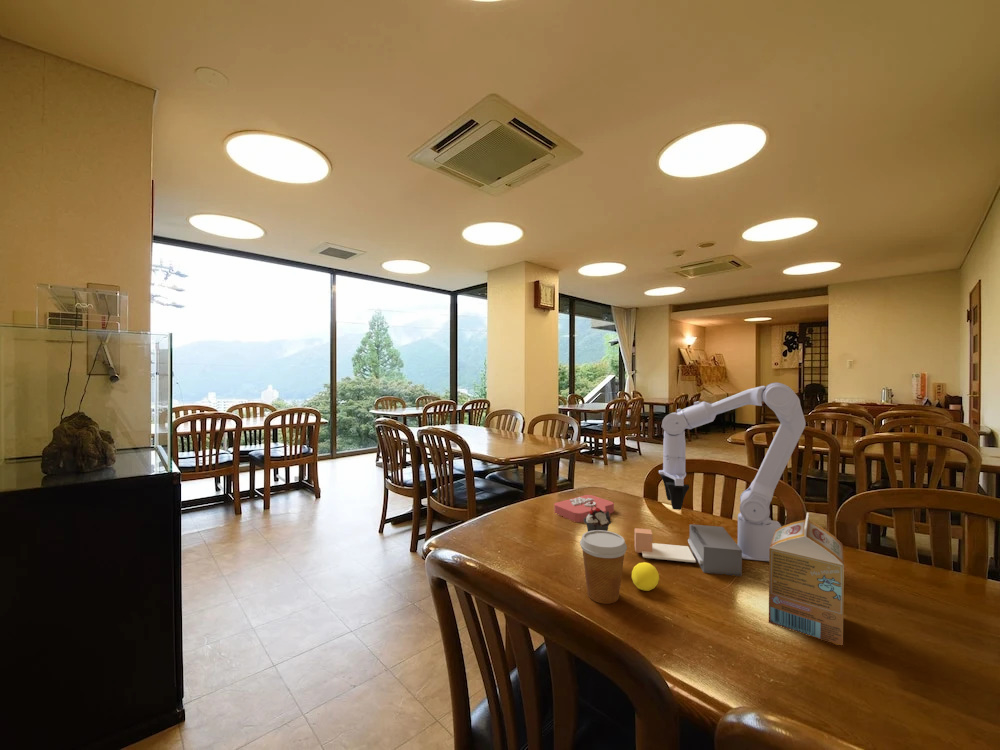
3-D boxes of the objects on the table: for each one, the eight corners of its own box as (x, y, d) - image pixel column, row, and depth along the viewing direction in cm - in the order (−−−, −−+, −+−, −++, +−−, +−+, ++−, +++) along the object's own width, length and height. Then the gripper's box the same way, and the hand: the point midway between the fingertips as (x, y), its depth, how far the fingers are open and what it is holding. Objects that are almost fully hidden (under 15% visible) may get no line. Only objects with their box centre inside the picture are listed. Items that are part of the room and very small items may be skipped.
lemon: (649, 601, 83) (647, 576, 83) (626, 590, 87) (624, 566, 87) (666, 585, 88) (664, 561, 87) (643, 575, 92) (641, 553, 91)
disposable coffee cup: (621, 584, 89) (621, 530, 89) (631, 610, 79) (631, 549, 79) (577, 582, 90) (577, 528, 90) (582, 607, 80) (582, 547, 80)
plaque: (585, 515, 122) (551, 501, 134) (585, 527, 122) (551, 513, 134) (623, 503, 132) (588, 492, 144) (623, 515, 132) (588, 503, 144)
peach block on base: (688, 548, 105) (688, 529, 105) (695, 562, 97) (695, 541, 97) (633, 543, 108) (633, 524, 108) (636, 556, 100) (636, 536, 100)
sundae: (580, 564, 98) (580, 502, 98) (587, 553, 104) (587, 495, 104) (607, 570, 95) (607, 507, 95) (613, 558, 101) (614, 498, 101)
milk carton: (774, 597, 84) (775, 506, 83) (841, 617, 77) (842, 518, 77) (768, 622, 75) (769, 521, 75) (842, 647, 69) (844, 536, 68)
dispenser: (722, 549, 106) (722, 526, 106) (741, 576, 92) (741, 550, 92) (687, 546, 108) (687, 524, 108) (700, 572, 94) (700, 546, 94)
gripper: (655, 450, 121) (654, 495, 121) (663, 461, 107) (663, 512, 107) (680, 451, 119) (680, 497, 119) (692, 462, 105) (691, 514, 105)
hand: (673, 504), depth 113 cm, fingers open, 7 cm apart
